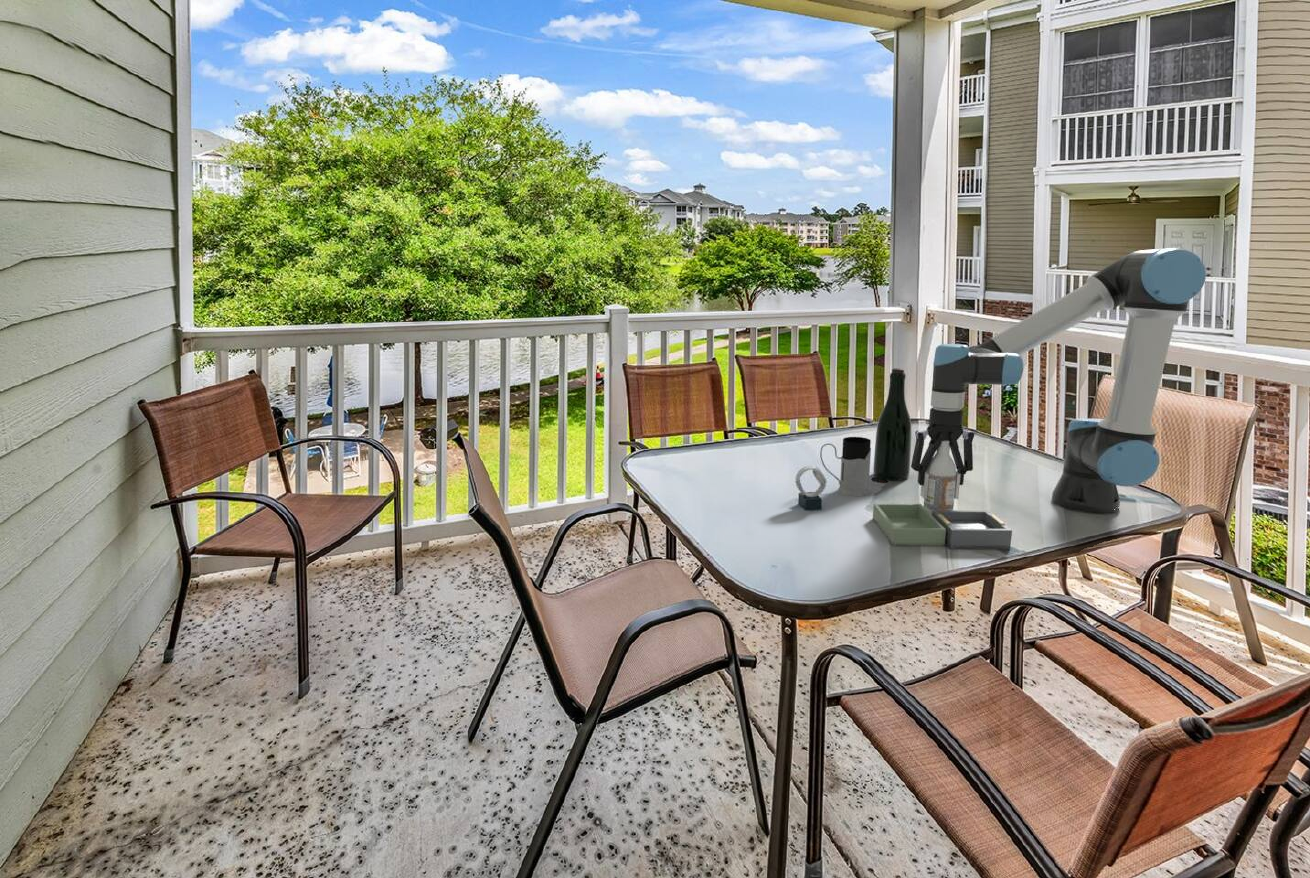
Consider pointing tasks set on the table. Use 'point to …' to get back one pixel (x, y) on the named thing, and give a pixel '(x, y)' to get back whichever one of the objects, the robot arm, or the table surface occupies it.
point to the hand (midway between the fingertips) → (939, 497)
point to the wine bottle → (893, 433)
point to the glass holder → (853, 466)
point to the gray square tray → (974, 530)
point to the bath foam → (941, 480)
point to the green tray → (908, 525)
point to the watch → (811, 498)
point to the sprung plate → (969, 525)
